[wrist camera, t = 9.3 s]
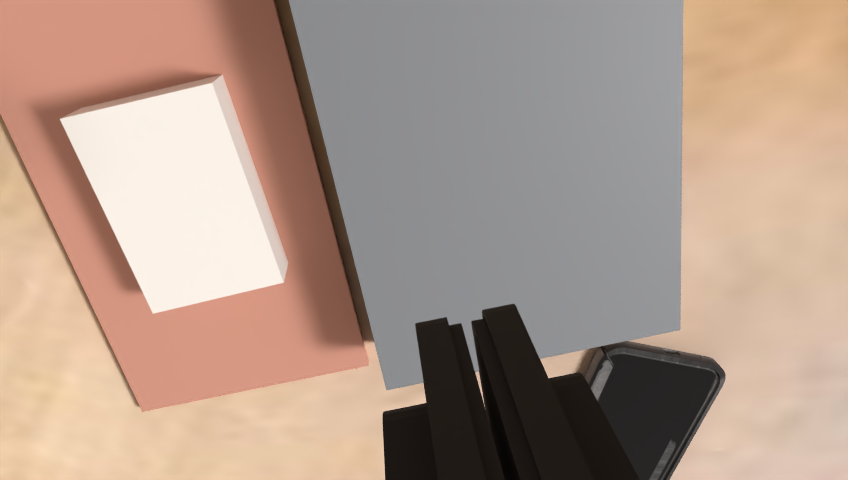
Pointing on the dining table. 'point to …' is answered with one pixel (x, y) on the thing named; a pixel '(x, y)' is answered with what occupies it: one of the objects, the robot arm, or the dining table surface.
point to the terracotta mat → (272, 156)
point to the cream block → (180, 192)
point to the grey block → (504, 164)
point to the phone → (653, 401)
